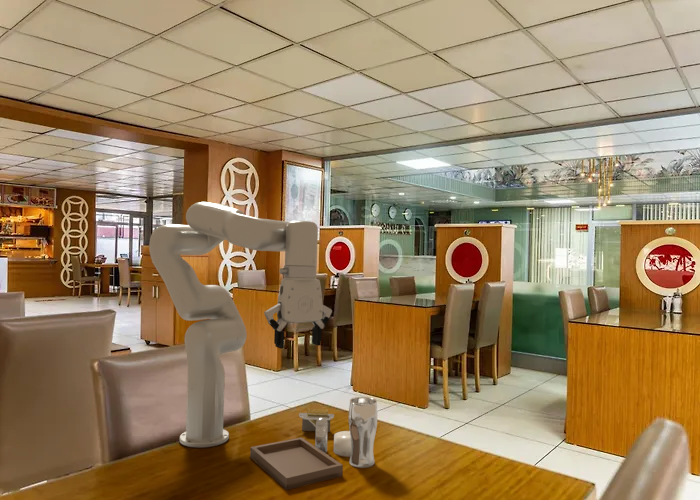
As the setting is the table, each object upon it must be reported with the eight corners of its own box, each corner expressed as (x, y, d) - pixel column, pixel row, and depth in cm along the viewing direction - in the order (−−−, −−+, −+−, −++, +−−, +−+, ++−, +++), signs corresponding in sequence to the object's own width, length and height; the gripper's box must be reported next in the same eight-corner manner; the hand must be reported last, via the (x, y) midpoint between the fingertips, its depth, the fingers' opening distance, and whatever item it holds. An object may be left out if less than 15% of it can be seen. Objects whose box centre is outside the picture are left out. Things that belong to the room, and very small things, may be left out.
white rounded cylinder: (328, 449, 132) (329, 433, 132) (351, 444, 136) (351, 429, 136) (343, 459, 126) (343, 442, 126) (366, 453, 130) (366, 437, 130)
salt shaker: (313, 450, 131) (313, 417, 131) (323, 448, 133) (324, 415, 133) (318, 454, 128) (319, 420, 129) (329, 452, 130) (330, 418, 130)
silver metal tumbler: (373, 470, 120) (375, 405, 120) (344, 467, 121) (346, 403, 121) (378, 458, 127) (379, 397, 127) (350, 455, 128) (352, 395, 128)
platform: (347, 442, 139) (347, 418, 139) (280, 440, 139) (281, 415, 139) (348, 427, 150) (348, 405, 151) (287, 425, 151) (287, 402, 151)
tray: (250, 457, 125) (250, 447, 126) (301, 447, 133) (301, 437, 133) (286, 490, 109) (286, 478, 109) (342, 476, 116) (342, 465, 116)
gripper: (273, 274, 113) (271, 351, 113) (340, 274, 123) (337, 346, 123) (259, 272, 120) (257, 346, 120) (324, 272, 129) (322, 341, 129)
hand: (298, 346), depth 121 cm, fingers open, 9 cm apart
